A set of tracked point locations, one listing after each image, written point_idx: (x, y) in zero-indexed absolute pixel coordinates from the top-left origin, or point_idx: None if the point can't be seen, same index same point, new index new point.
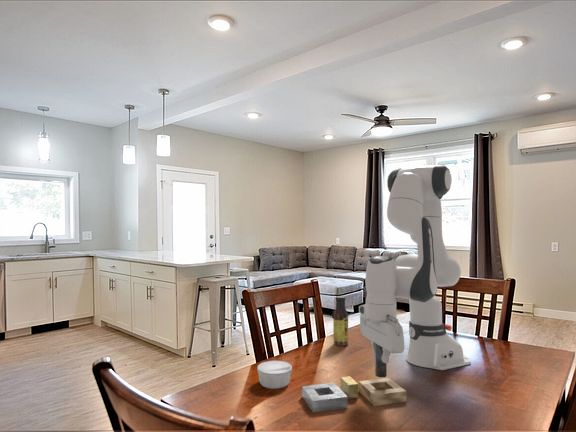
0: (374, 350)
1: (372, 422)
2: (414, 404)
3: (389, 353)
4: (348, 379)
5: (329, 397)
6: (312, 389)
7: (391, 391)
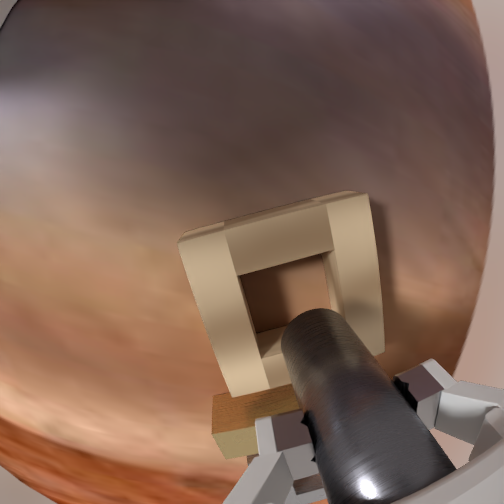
0: (291, 483)
1: (448, 342)
2: (371, 164)
3: (492, 395)
4: (253, 440)
5: None
6: (299, 496)
7: (366, 272)
